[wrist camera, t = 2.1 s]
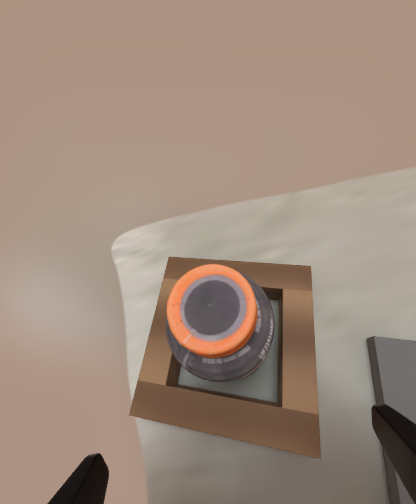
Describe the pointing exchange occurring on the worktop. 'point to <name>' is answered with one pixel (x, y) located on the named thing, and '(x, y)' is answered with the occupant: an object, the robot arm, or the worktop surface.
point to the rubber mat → (394, 392)
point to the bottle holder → (231, 406)
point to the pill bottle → (219, 323)
